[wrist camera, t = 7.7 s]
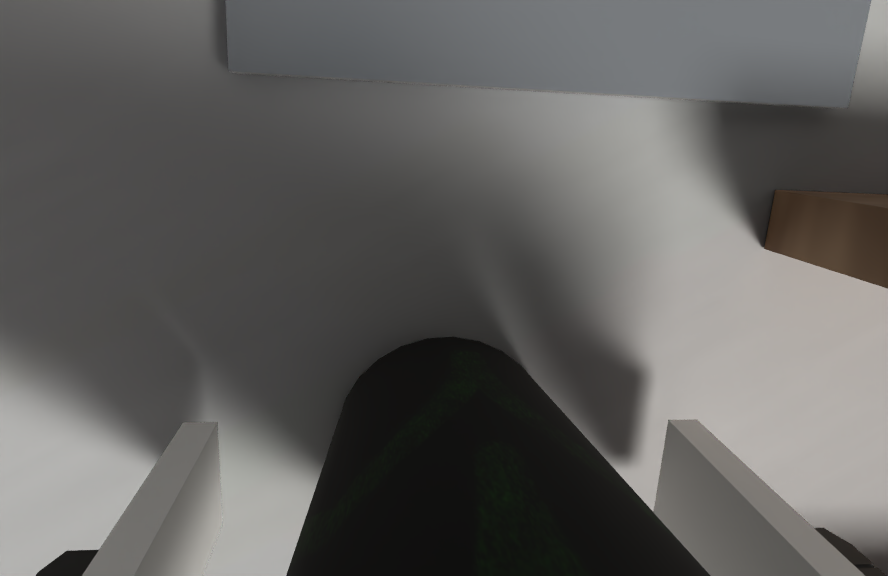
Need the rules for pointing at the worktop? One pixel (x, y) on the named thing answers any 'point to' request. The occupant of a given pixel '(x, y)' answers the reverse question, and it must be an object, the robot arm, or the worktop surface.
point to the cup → (472, 480)
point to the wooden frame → (833, 231)
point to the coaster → (564, 46)
